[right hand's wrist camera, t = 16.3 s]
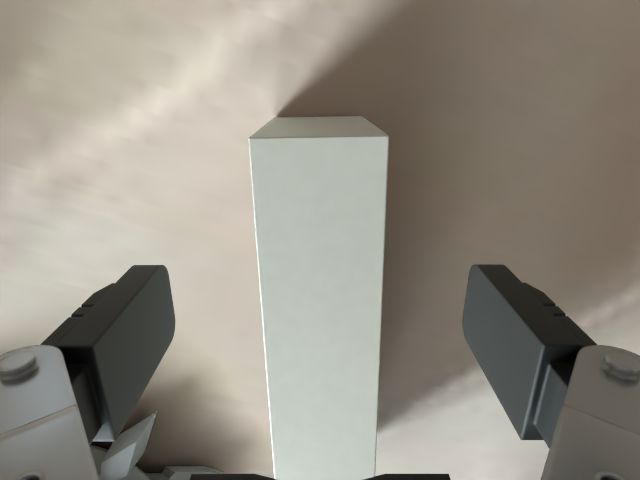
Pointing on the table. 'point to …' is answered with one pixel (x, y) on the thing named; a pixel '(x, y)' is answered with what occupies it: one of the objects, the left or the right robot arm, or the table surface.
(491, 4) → the table surface
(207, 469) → the decorative piece
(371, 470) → the bar
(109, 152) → the table surface
